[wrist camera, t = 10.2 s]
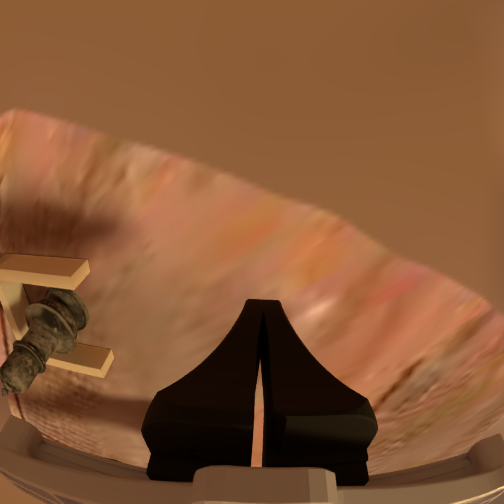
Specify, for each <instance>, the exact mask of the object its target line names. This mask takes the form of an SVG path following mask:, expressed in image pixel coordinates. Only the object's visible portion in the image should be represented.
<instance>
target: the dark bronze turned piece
mask: <svg viewBox="0 0 504 504" xmlns="http://www.w3.org/2000/svg"><path fill="white" fill-rule="evenodd" d="M25 318H26V323H27V326H28V328H29V329H28V331H27V332H26V334H25V335H24V336H23V337H22V339H21V340H16V341H15V342H14V343H13V349H14V350H13V351H12V353H11V354H10V355H9V357H8V358H7V359H6V361H5V362H4V363H3V365H2V366H1V367H0V378H1V381H2V383H3V385H4V388H2V395H3V396H4V395H8V391H10V392H13V393H15V394H24V393H25V392H26V391H27V390H28V388H29V387H30V385H31V383H32V382H33V380H34V379H35V377H36V376H37V374H38V373H43V372H45V370H46V365H45V364H46V362H47V361H48V359H49V358H50V356H51V355H52V354H53V353H57V354H63V355H66V354H70V353H71V352H72V351H74V348H75V346H76V339H77V331H79V330H82V329H83V328H85V327H86V325H87V323H88V318H89V317H88V312H87V309H86V307H85V305H84V303H83V302H82V300H81V299H80V298H79V297H78V296H77V295H76V294H75V293H74V292H72V291H71V290H70V289H62V288H54V287H51V288H49V289H48V291H47V292H46V295H45V299H44V300H41V301H39V302H37V303H33V304H30V305H29V306H28V307H27V309H26V312H25Z"/></svg>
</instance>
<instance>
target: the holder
mask: <svg viewBox="0 0 504 504" xmlns="http://www.w3.org/2000/svg"><path fill="white" fill-rule="evenodd" d="M89 273H90V268H89V264H88V259H75V258H61V257H47V256H33V255H20V254H7V253H6V254H5V255H4V256H2V257H1V258H0V301H1V304H2V306H3V309H4V311H5V314H6V316H7V319H8V321H9V323H10V326H11V328H12V330H13V333H14V335H15V337H16V339H17V340H21V339H22V337H23V336H24V335H25V334H26V332H27V331H28V329H29V328H28V326H27V323H26V318H25V312H26V309H27V307H28V306H29V302H28V299H27V296H26V293H25V290H24V287H23V284H22V283H25V284H32V285H39V286H46V287H54V288H62V289H70V290H75V288H76V287H77V286H78V285H79V284H80V283H81V282H82V280H83V279H84V278H85V277H86V276H87V275H88V274H89ZM113 359H114V356H113V353H112V350H111V349H106V348H100V347H95V346H89V345H84V344H79V343H76V346H75V348H74V351H72V352H71V353H70V354H66V355H63V354H57V353H53V354H52V355H51V356H50V358H49V359H48V361H47V362H46V364H48V365H52V366H56V367H59V368H63V369H67V370H71V371H75V372H79V373H83V374H88V375H92V376H97V377H101V378H104V377H105V375H106V373H107V371H108V369H109V367H110V365H111V363H112V361H113Z"/></svg>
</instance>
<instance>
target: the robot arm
mask: <svg viewBox="0 0 504 504" xmlns="http://www.w3.org/2000/svg"><path fill="white" fill-rule="evenodd" d="M260 360H261V373H262V386H263V398H264V425H263V452H262V467H251V457H252V443H253V429H254V405H255V390H256V384H257V377H258V370H259V364H260ZM377 430H378V425H377V420H376V417H375V414H374V412H373V409H372V407H371V405H370V403H369V401H368V399H367V398H365V397H364V396H362V395H360V394H359V393H357V392H355V391H354V390H352V389H350V388H349V387H347V386H346V385H345V384H343V383H342V382H341V381H339V380H338V379H337V378H335V377H334V376H333V375H332V374H331V373H330V372H329V371H327V370H326V369H325V368H324V367H323V366H322V365H321V364H320V363H319V362H318V361H317V360H316V359H315V358H314V356H313V355H312V354H311V353H310V352H309V350H308V349H307V348H306V347H305V345H304V344H303V343H302V341H301V340H300V338H299V337H298V335H297V334H296V332H295V331H294V329H293V327H292V326H291V324H290V322H289V320H288V318H287V316H286V314H285V312H284V310H283V308H282V305H281V302H280V301H279V300H260V299H248V300H247V301H246V302H245V305H244V308H243V310H242V312H241V314H240V316H239V317H238V319H237V321H236V322H235V324H234V325H233V327H232V329H231V330H230V331H229V333H228V334H227V335H226V337H225V338H224V339H223V341H222V342H221V343H220V344H219V346H218V347H217V348H216V349H215V350H214V351H213V352H212V353H211V354H210V355H209V356H208V357H207V358H206V359H205V360H204V361H203V362H202V363H201V364H200V365H198V366H197V367H196V368H195V369H193V370H192V371H191V372H189V373H188V374H187V375H185V376H184V377H182V378H181V379H180V380H178V381H177V382H175V383H173V384H171V385H170V386H168V387H166V388H164V389H163V390H161V391H158V392H157V394H156V395H155V397H154V399H153V400H152V402H151V404H150V406H149V408H148V410H147V413H146V416H145V419H144V422H143V425H142V429H141V432H142V436H143V438H144V440H145V442H146V444H147V446H148V448H149V451H150V453H151V456H150V459H149V463H148V467H147V468H142V467H138V466H133V465H129V464H125V463H121V462H117V461H113V460H110V459H106V458H103V457H99V456H96V455H93V454H89V453H86V452H83V451H80V450H77V449H74V448H71V447H68V446H66V445H63V444H60V443H57V442H55V441H52V440H50V439H47V438H45V437H43V436H42V434H41V433H40V431H39V430H38V429H37V428H36V427H35V426H34V425H32V424H31V423H29V422H27V421H24V420H22V419H20V418H18V417H15V416H13V415H10V416H9V418H8V420H7V422H6V423H5V425H4V427H3V428H2V430H1V432H0V474H2V475H3V476H4V477H5V478H6V479H7V480H9V481H10V482H11V483H12V484H13V485H14V486H16V487H17V488H18V489H20V490H22V491H24V492H25V493H27V494H29V495H31V496H33V497H35V498H36V499H38V500H40V501H42V502H44V503H46V504H488V503H489V502H491V501H492V500H494V499H495V498H496V497H498V496H499V495H501V494H502V493H503V492H504V440H503V438H502V436H501V434H496V435H494V436H491V437H488V438H485V439H483V440H480V441H479V442H477V443H476V444H475V445H474V446H472V447H471V449H470V450H469V451H468V453H465V454H462V455H458V456H455V457H452V458H448V459H445V460H441V461H438V462H434V463H430V464H426V465H422V466H418V467H413V468H409V469H404V470H399V471H394V472H388V473H383V474H376V475H370V476H369V475H368V470H367V465H366V461H367V460H368V453H367V448H368V446H369V445H370V443H371V442H372V440H373V439H374V437H375V435H376V433H377Z"/></svg>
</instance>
